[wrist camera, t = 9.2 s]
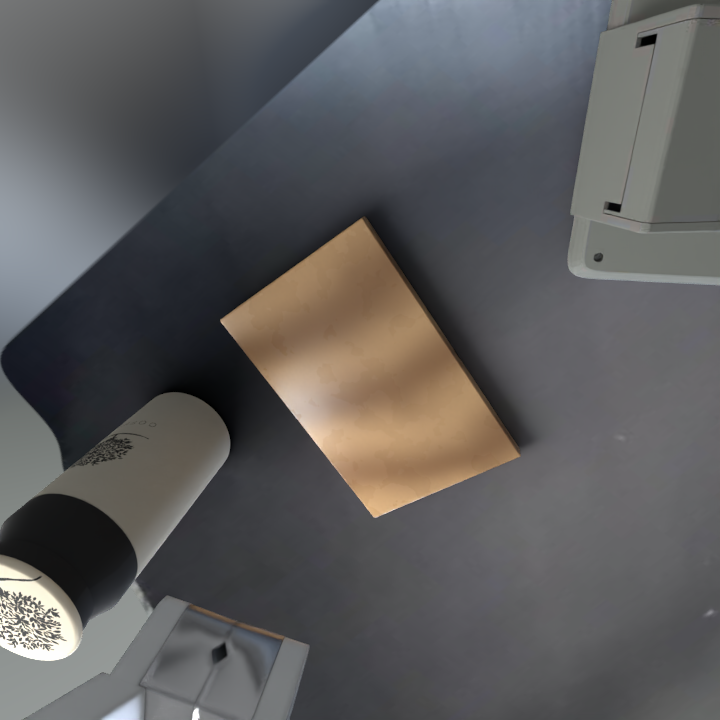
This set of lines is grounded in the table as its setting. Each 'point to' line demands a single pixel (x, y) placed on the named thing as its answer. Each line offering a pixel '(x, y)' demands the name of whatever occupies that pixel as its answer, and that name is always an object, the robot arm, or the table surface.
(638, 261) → the digital clock
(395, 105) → the table surface
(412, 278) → the table surface
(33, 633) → the travel mug
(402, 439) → the wooden board
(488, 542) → the table surface
